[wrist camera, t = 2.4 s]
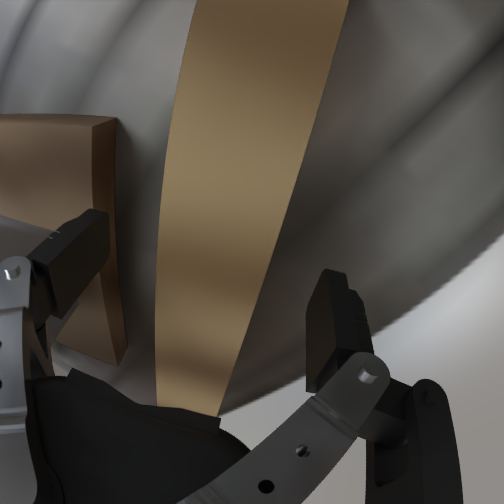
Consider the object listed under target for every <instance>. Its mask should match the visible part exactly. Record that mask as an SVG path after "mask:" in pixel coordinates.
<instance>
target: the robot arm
mask: <svg viewBox="0 0 504 504" xmlns="http://www.w3.org/2000/svg"><path fill="white" fill-rule="evenodd" d="M109 254H110V222H109V214H108V213H107V212H104V211H100V210H96V209H92V208H89V209H87V210H86V211H85V212H84V213H82V214H81V215H80V216H79V217H77V218H74V219H72V220H70V221H67V222H65V223H63V224H62V225H61V226H60V227H59V228H57V229H56V231H55V232H53V233H52V234H51V235H49V238H46V239H45V240H44V241H43V242H41V243H40V244H39V245H38V246H37V247H36V248H35V249H34V250H33V251H32V252H31V253H29V254H28V255H27V256H26V257H23V256H13V257H9V258H7V259H5V260H3V261H2V262H0V504H301V503H302V502H303V501H304V500H305V499H306V498H307V497H308V496H309V495H310V494H311V493H312V492H313V491H314V490H315V488H316V487H317V486H318V485H319V484H320V483H321V482H322V481H323V480H324V478H325V477H326V476H327V475H328V474H329V473H330V471H331V470H332V469H333V468H334V467H335V465H336V464H337V463H338V462H339V461H340V459H341V458H342V457H343V456H344V454H345V453H346V452H347V450H348V449H349V448H350V446H351V445H352V444H353V442H354V441H355V440H356V438H357V437H361V438H363V439H366V495H365V497H366V498H365V504H463V494H462V493H463V492H462V482H461V472H460V464H459V457H458V450H457V444H456V438H455V433H454V427H453V422H452V417H451V412H450V407H449V403H448V399H447V395H446V393H445V392H444V390H443V389H442V388H441V386H440V385H439V384H437V383H436V382H434V381H432V380H429V379H421V380H419V381H418V382H417V383H416V384H414V385H413V386H412V387H411V386H409V385H406V384H404V383H402V382H399V381H397V380H395V379H393V378H391V377H390V372H389V369H388V367H387V366H386V364H385V363H384V362H383V361H382V360H381V359H380V358H378V357H377V356H375V355H374V350H373V345H372V340H371V335H370V330H369V326H368V324H367V317H366V314H365V308H364V304H363V301H362V299H361V298H360V297H359V295H358V294H357V292H356V291H355V290H351V289H349V287H348V282H347V277H346V274H345V273H341V272H337V271H333V270H329V269H324V270H323V272H322V274H321V276H320V278H319V280H318V283H317V285H316V287H315V289H314V292H313V294H312V296H311V298H310V301H309V303H308V306H307V311H306V392H310V393H316V395H315V396H311V397H310V398H309V399H308V400H307V401H306V402H305V403H304V404H303V405H302V406H301V407H300V408H299V409H298V410H296V411H295V412H294V413H293V414H292V415H291V416H290V417H289V418H288V419H287V420H286V421H285V422H284V423H283V424H282V425H280V426H279V427H278V428H277V429H276V430H275V431H274V432H273V433H272V434H270V435H269V436H268V437H267V438H266V439H265V440H263V441H262V442H261V443H260V444H259V445H258V446H256V447H255V448H254V449H253V450H252V451H251V450H250V449H249V448H247V446H246V445H245V444H243V443H242V442H241V441H240V440H238V439H237V438H236V437H235V436H233V435H231V434H230V433H228V432H227V431H224V430H222V429H220V428H219V426H220V421H221V418H218V417H214V416H210V415H206V414H202V413H198V412H194V411H191V410H187V409H183V408H175V407H162V406H151V405H141V404H138V403H135V402H134V401H132V400H131V399H129V398H128V397H126V396H125V395H123V394H122V393H120V392H119V391H117V390H116V389H114V388H113V387H111V386H110V385H109V384H107V383H106V382H104V381H102V380H100V379H97V378H95V377H92V376H90V375H88V374H85V373H83V372H81V371H79V370H76V369H74V368H72V369H71V371H70V372H69V374H68V376H67V377H65V376H55V373H54V370H53V365H52V358H51V348H50V338H49V326H48V322H47V319H48V318H49V316H50V315H52V316H54V317H56V318H59V319H61V320H62V319H63V317H64V316H65V315H66V313H67V312H68V311H69V309H70V308H71V307H72V305H73V304H74V303H75V301H76V300H77V299H78V297H79V296H80V295H81V293H82V292H83V291H84V290H85V288H86V287H87V286H88V284H89V283H90V282H91V281H92V279H93V278H94V277H95V276H96V274H97V273H98V272H99V271H100V270H101V268H102V267H103V266H104V265H105V263H106V262H107V260H108V258H109Z"/></svg>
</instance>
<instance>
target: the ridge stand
mask: <svg viewBox="0 0 504 504" xmlns="http://www.w3.org/2000/svg"><path fill="white" fill-rule="evenodd" d="M116 122H117V117H106V116H91V115H72V114H3V115H0V262H2V261H3V260H5V259H7V258H9V257H13V256H23V257H26V256H27V255H28V254H29V253H31V252H32V251H33V250H34V249H35V248H36V247H37V246H38V245H39V244H40V243H41V242H43V241H44V240H45V239H46V238H49V235H51V234H52V233H53V232H55V231H56V229H57V228H59V227H60V226H61V225H62V224H63V223H65V222H67V221H70V220H72V219H74V218H77V217H79V216H80V215H81V214H82V213H84V212H85V211H86V210H87V209H89V208H92V209H96V210H100V211H104V212H107V213H108V214H109V222H110V254H109V258H108V260H107V262H106V263H105V265H104V266H103V267H102V268H101V270H100V271H99V272H98V273H97V274H96V276H95V277H94V278H93V279H92V281H91V282H90V283H89V284H88V286H87V287H86V288H85V290H84V291H83V292H82V293H81V295H80V296H79V297H78V299H77V300H76V301H75V303H74V304H73V305H72V307H71V308H70V309H69V311H68V312H67V313H66V315H65V316H64V317H63V319H62V320H61V319H59V318H56V317H54V316H52V315H50V316H49V318H48V319H47V322H48V326H49V338H50V347H51V345H52V343H53V342H54V341H55V342H58V343H60V344H62V345H64V346H67V347H69V348H71V349H74V350H76V351H78V352H81V353H83V354H86V355H88V356H90V357H93V358H96V359H98V360H101V361H103V362H106V363H109V364H111V365H114V366H117V367H118V366H119V364H120V362H121V359H122V357H123V355H124V353H125V351H126V349H127V347H128V344H127V338H126V332H125V325H124V318H123V311H122V303H121V295H120V285H119V275H118V264H117V251H116V234H115V207H114V165H115V138H116Z"/></svg>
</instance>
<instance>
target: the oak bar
mask: <svg viewBox="0 0 504 504" xmlns="http://www.w3.org/2000/svg"><path fill="white" fill-rule="evenodd" d="M348 4H349V0H197V2H196V6H195V9H194V13H193V17H192V21H191V25H190V29H189V33H188V37H187V42H186V46H185V50H184V55H183V60H182V64H181V69H180V74H179V79H178V84H177V90H176V95H175V101H174V106H173V112H172V119H171V125H170V131H169V138H168V145H167V153H166V160H165V169H164V177H163V186H162V196H161V207H160V218H159V231H158V246H157V264H156V291H155V365H156V390H157V406H162V407H175V408H183V409H187V410H191V411H194V412H198V413H202V414H206V415H210V416H214V417H216V416H217V413H218V411H219V408H220V405H221V402H222V400H223V397H224V394H225V391H226V388H227V385H228V383H229V380H230V377H231V374H232V371H233V368H234V366H235V363H236V360H237V357H238V354H239V351H240V348H241V345H242V343H243V340H244V337H245V334H246V331H247V328H248V325H249V322H250V319H251V316H252V313H253V310H254V308H255V305H256V302H257V299H258V296H259V293H260V290H261V287H262V284H263V281H264V278H265V275H266V272H267V269H268V266H269V263H270V260H271V257H272V254H273V251H274V248H275V244H276V241H277V238H278V235H279V232H280V229H281V226H282V223H283V220H284V217H285V214H286V211H287V207H288V204H289V201H290V198H291V195H292V192H293V189H294V185H295V182H296V179H297V176H298V173H299V170H300V166H301V163H302V160H303V157H304V153H305V150H306V147H307V144H308V141H309V137H310V134H311V131H312V127H313V124H314V121H315V118H316V114H317V111H318V108H319V104H320V101H321V98H322V94H323V91H324V88H325V84H326V81H327V77H328V74H329V71H330V67H331V64H332V60H333V57H334V53H335V50H336V46H337V43H338V39H339V36H340V32H341V29H342V25H343V22H344V18H345V15H346V11H347V7H348Z"/></svg>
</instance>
